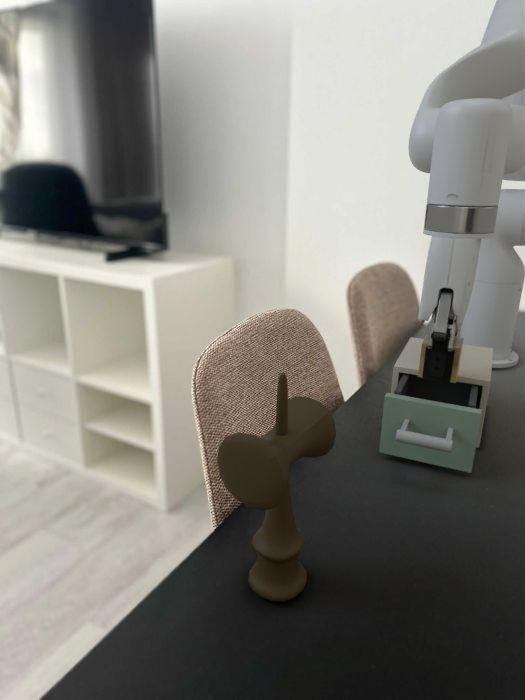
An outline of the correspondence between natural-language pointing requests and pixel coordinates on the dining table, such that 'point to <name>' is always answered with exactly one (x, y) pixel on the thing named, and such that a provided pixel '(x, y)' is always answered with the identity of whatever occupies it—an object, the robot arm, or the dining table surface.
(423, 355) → the block
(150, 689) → the dining table surface
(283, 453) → the kendama
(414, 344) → the small drawer cabinet
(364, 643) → the dining table surface
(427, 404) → the green drawer
